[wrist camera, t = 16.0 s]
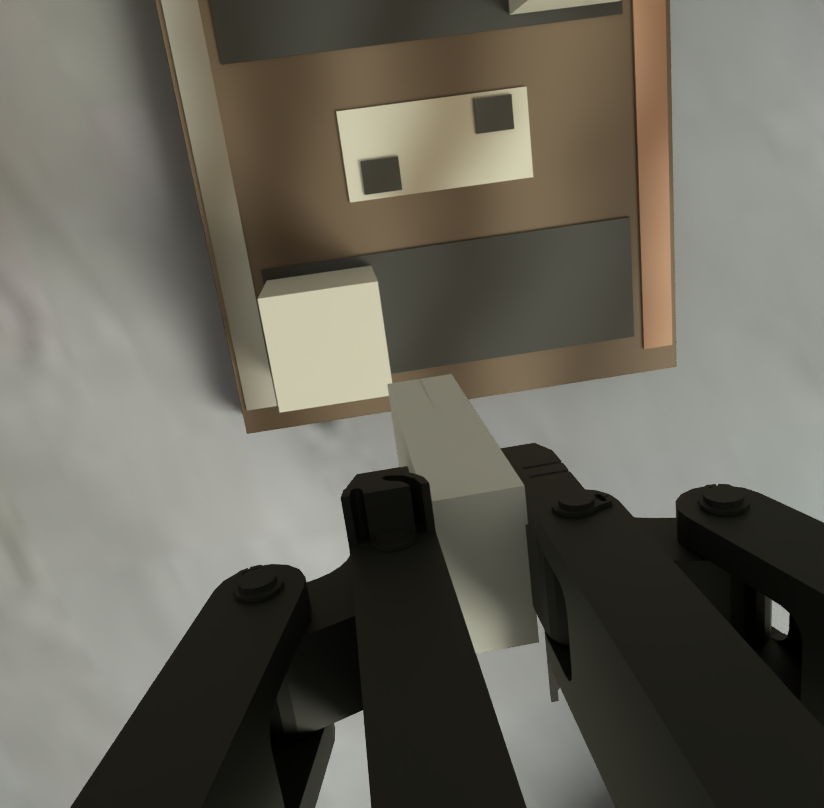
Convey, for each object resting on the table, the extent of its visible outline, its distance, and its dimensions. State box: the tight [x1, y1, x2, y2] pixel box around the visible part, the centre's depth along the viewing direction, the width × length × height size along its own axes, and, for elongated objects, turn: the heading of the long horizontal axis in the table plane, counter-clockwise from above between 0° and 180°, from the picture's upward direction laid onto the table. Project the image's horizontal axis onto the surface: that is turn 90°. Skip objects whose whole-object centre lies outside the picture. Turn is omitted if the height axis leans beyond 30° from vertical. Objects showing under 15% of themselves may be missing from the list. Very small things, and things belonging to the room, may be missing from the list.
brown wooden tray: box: [155, 0, 676, 434], centre depth 29 cm, size 18×20×2 cm
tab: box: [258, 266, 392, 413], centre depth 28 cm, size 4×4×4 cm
